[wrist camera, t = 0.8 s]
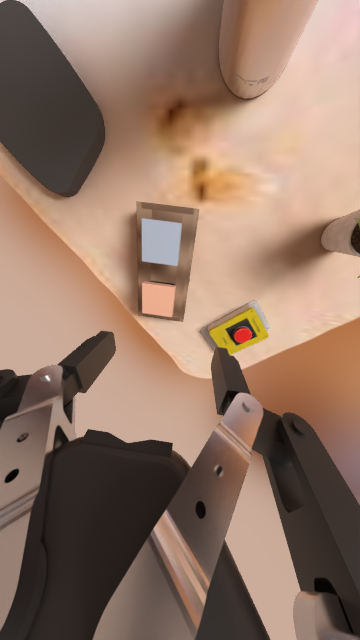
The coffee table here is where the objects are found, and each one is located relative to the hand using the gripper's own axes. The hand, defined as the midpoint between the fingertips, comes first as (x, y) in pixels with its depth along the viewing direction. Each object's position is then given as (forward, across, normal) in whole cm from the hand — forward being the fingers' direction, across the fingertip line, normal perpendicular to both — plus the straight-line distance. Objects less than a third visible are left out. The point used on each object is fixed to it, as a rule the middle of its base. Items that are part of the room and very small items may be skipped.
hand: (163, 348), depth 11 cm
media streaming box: (+24, +24, -22) cm, 40 cm away
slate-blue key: (+19, +4, -7) cm, 21 cm away
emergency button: (+23, -14, +10) cm, 29 cm away
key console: (+23, +4, -2) cm, 23 cm away
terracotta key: (+19, +4, +2) cm, 19 cm away
